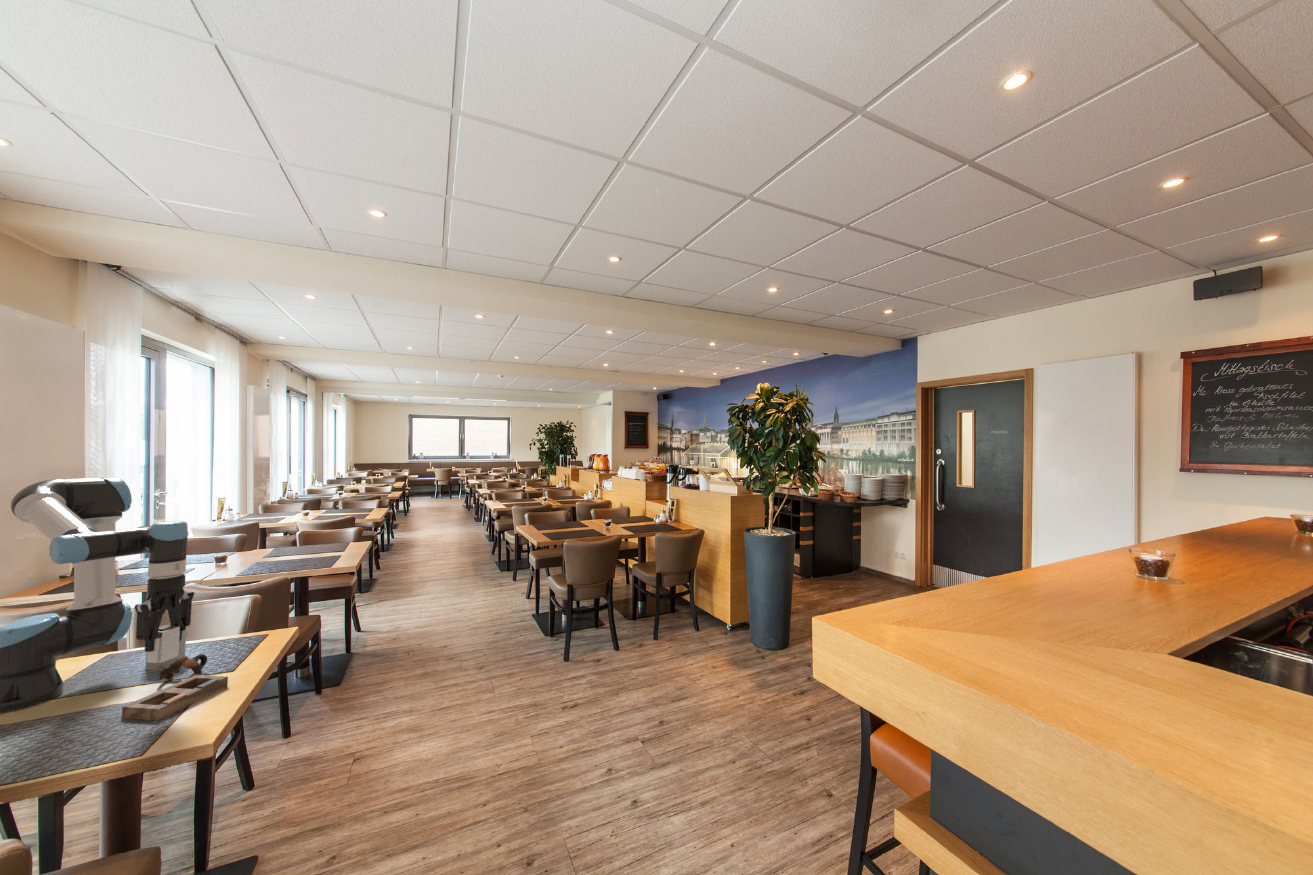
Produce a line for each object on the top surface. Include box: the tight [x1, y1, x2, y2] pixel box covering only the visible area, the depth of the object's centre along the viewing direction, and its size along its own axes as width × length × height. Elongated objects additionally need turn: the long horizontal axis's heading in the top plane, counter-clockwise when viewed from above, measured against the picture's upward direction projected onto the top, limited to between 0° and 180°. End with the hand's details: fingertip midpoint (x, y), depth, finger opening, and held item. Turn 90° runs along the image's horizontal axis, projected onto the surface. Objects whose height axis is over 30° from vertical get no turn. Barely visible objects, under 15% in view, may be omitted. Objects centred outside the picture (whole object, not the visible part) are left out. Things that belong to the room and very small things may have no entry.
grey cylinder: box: [144, 623, 188, 671], centre depth 161 cm, size 10×10×12 cm
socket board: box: [121, 674, 229, 721], centre depth 137 cm, size 11×19×3 cm, turn 175°
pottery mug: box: [157, 653, 208, 681], centre depth 151 cm, size 12×10×8 cm
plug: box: [156, 624, 180, 663], centre depth 133 cm, size 4×4×9 cm
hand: (162, 657), depth 133 cm, fingers closed on plug, 4 cm apart
